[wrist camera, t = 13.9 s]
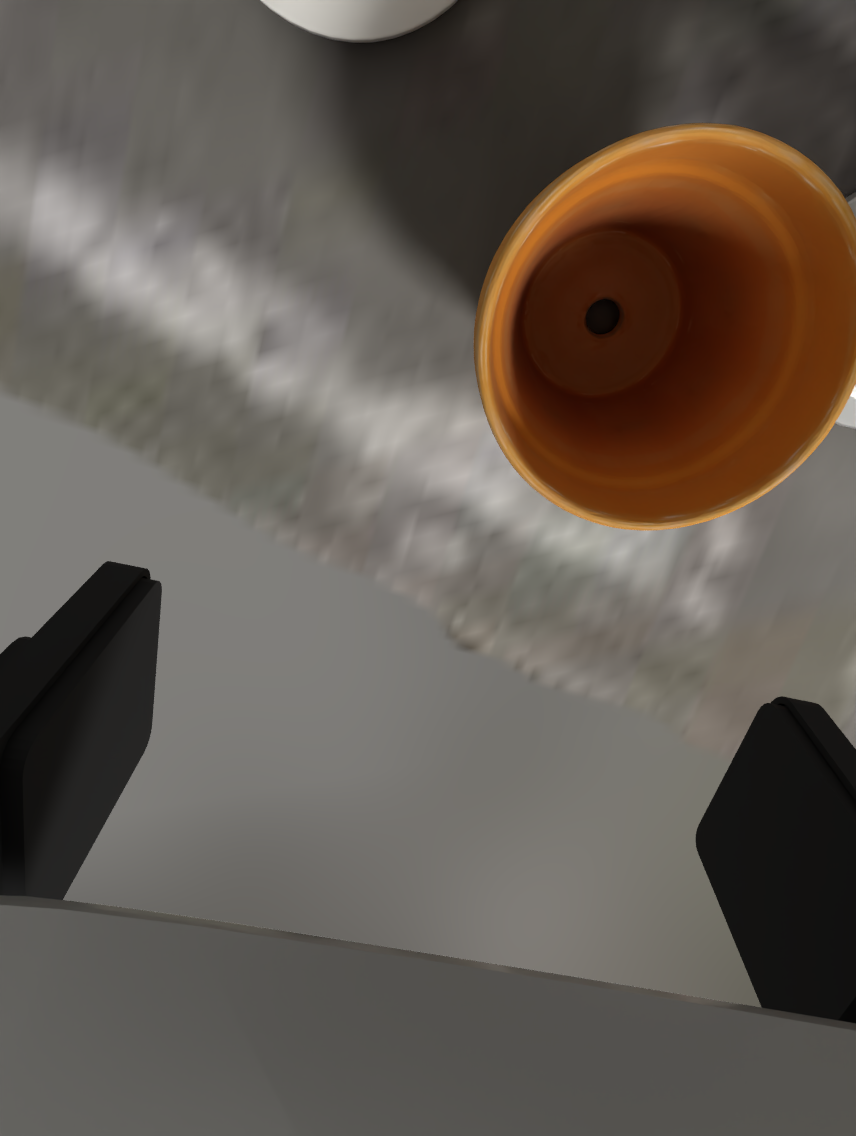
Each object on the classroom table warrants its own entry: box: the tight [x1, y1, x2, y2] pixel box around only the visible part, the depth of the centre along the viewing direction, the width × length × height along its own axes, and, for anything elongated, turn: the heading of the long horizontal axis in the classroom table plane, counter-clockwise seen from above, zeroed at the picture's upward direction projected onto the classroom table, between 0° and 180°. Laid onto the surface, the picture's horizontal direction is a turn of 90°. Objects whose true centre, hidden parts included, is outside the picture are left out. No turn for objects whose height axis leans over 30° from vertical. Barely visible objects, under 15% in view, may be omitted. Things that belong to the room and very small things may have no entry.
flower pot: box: [474, 123, 856, 530], centre depth 32 cm, size 14×14×13 cm
